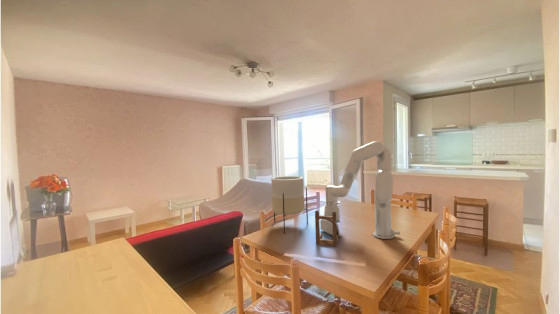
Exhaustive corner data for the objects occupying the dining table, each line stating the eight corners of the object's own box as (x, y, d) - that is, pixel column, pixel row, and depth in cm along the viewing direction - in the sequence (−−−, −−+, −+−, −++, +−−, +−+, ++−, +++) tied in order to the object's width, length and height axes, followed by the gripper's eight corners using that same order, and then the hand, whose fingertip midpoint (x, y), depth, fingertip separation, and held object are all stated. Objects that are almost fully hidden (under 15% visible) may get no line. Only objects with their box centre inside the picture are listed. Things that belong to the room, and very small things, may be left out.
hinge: (342, 237, 146) (340, 222, 145) (336, 239, 144) (334, 224, 143) (326, 229, 161) (324, 215, 160) (320, 231, 159) (319, 217, 158)
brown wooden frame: (339, 239, 141) (338, 207, 141) (337, 246, 131) (336, 212, 131) (319, 237, 146) (318, 206, 145) (315, 244, 135) (314, 210, 135)
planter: (293, 235, 152) (292, 180, 151) (261, 229, 166) (259, 179, 165) (310, 224, 174) (308, 176, 174) (280, 219, 188) (278, 175, 188)
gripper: (343, 202, 158) (344, 229, 158) (321, 201, 163) (322, 227, 163) (342, 205, 151) (343, 233, 151) (319, 204, 156) (320, 231, 156)
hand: (332, 230), depth 157 cm, fingers closed
